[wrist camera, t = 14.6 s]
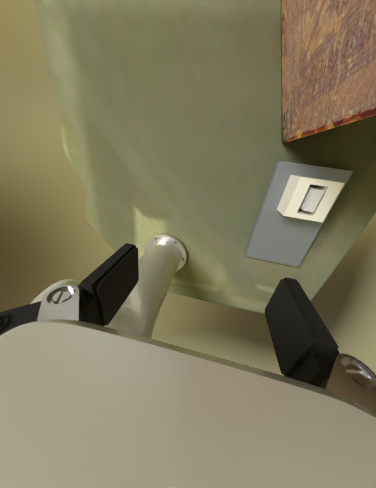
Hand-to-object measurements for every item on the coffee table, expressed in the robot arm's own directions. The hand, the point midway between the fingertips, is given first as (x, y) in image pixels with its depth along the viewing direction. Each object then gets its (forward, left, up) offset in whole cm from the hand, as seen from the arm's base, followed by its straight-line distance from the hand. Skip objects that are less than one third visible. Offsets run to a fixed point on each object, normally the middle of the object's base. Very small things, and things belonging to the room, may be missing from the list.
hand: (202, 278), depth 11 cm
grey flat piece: (+6, -16, -30) cm, 35 cm away
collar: (+11, -13, -29) cm, 33 cm away
